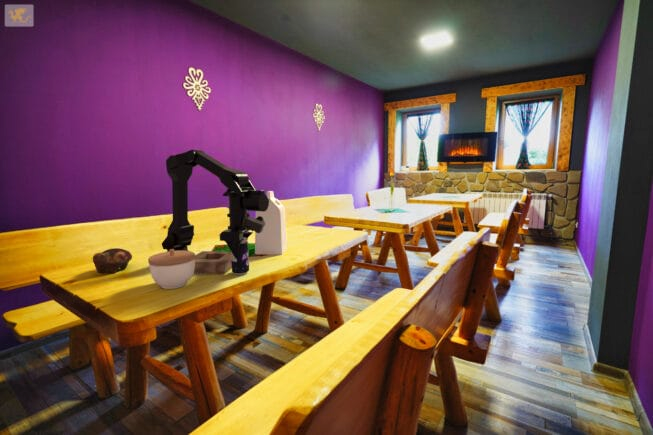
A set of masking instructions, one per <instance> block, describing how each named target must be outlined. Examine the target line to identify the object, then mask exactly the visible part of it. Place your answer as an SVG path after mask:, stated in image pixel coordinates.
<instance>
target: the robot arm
mask: <svg viewBox="0 0 653 435" xmlns="http://www.w3.org/2000/svg"><path fill="white" fill-rule="evenodd" d="M165 166H166V167H165V168H166V173H167V175H168V176H169V178H170V179H171V182H172V184H171V186H172V187H171V188H172V189H171V190H172V192H171V193H172V195H171V196H172V200H171V201H172V220H171V222H170V224H169V226H168V229H167V236H166V237H165V238H164V240H163V241H162V243H161V247H162V249H163V250H166V252H168V251H170V249H174V251H190V250H189V249H188V247H189V246H191V245H192V241H193V239H194V236H195V226H194V224H191V223H190V221H189V214H188V212H189V211H188V210H189V206H188V205H189V204H188V203H189V202H188V196H189V195H188V190H189V189H188V184H189V183H188V182H189V180H190V178H191V176H192V175H193V171H194V170H193V169H194V168H196V167H197V166H200V167H201V168H203V169H204V170H206V171H208V172H209V173H211V174H212V175H214V176H216V177H217V178H218V179H219V182H220V183H221V184H222V185H223V186H224V187H225V188H226V190H225V192H223V194H222V197H228V213H226V217H227V218H228V219H229V225H228V226H227V229H224V230H223V231H221V232H220V233H219V241H221V242H225V243H226V245H227V247H228V248H229V250H230V251H231V252H232V254H233V255H234V257H235V258H236V259H238V258H239V253H240V243H241V242H242V241H243V240H244V239H245V238H247V241H248V239H249V237H250V236H252V235H253V234H254V233H255V232H256V233H261V231H263V228H264V226H265V221H264V219H263V217H261V216H258V217H257V218H256V217H251V213H250V212H256V211H261V212H264V211H266V210H267V208H268V206H269V200H268V197H267V193H266V192H265V190H264V189H259V190H256V188H255V187H254V185H253V183H252V182H251V180H250V178H249V175H248V173H247V172H245V171H242V170H240V169H236V168H232V167H229V166H227V165H225V164H224V163H222V162H220V161H219V160H216V159H215V158H213V157H212V156H210V155H209V154H207V153H206V152H205V151H204V150H202V149H193V148H192V149H190V150H188V151H184V152H182V153H177V154H175V155H173V154H172V155H169V156H168V157H167V158H166V161H165ZM243 237H245V238H243Z"/></svg>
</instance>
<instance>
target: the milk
mask: <svg viewBox="0 0 653 435" xmlns="http://www.w3.org/2000/svg"><path fill="white" fill-rule="evenodd" d="M266 196H267V197H268V200H269V206H268V208H267V210H266V211H264V212H261V211H255V219H256V218H257V217H258V216H261V217H263V219H264V221H265V226H264V228H263V231H261V233H256V232H255V231H254V254H255V255H277V256H279V255H280V256H282V255H283V254H284V253H285V252H286V250H287V248H288V240H287V238H288V237H287V224H286V223H287V222H286V220H287V219H286V209H285V206H284V205H283V204H282V202H281V200H279V199H278V198H276V197H275V194H274V190H268V191H266ZM285 249H286V250H285ZM283 252H284V253H283Z"/></svg>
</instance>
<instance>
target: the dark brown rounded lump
mask: <svg viewBox="0 0 653 435" xmlns="http://www.w3.org/2000/svg"><path fill="white" fill-rule="evenodd" d="M132 259H133V254H132V253H131V252H130V251H129V250H126V249H123V248H119V247H117V248H115V247H114V248H108V249H106V250H104V251H102V252H96V253H95V254H93V256H92V262H93V264H94V267H95V270H96V271H97V272H98V273H99V274H103V273H104V272H106V271H108V272H109V273H111V274H115V273H117V272H118V270H126V269H127V268H128V265H129V262H130V261H131V260H132Z"/></svg>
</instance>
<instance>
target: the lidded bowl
mask: <svg viewBox="0 0 653 435" xmlns="http://www.w3.org/2000/svg"><path fill="white" fill-rule="evenodd" d="M195 255H196V253H195V252H194V251H190V250H189V251H174V249H170V251H168V252H167V251H163V252H159V253H156V254H153V255H151V256H148V260H147V262H148V266H149V273H150V276H151V278H152V280H153V281H154V283H156V284H157V285H158V286H160V287H161V288H162V289H164V290H173V289H179V288H182V287H184V286H187V284H188V282H189V281H191V279H192V277H193V276H194V275H195V273H194V270H195Z"/></svg>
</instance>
